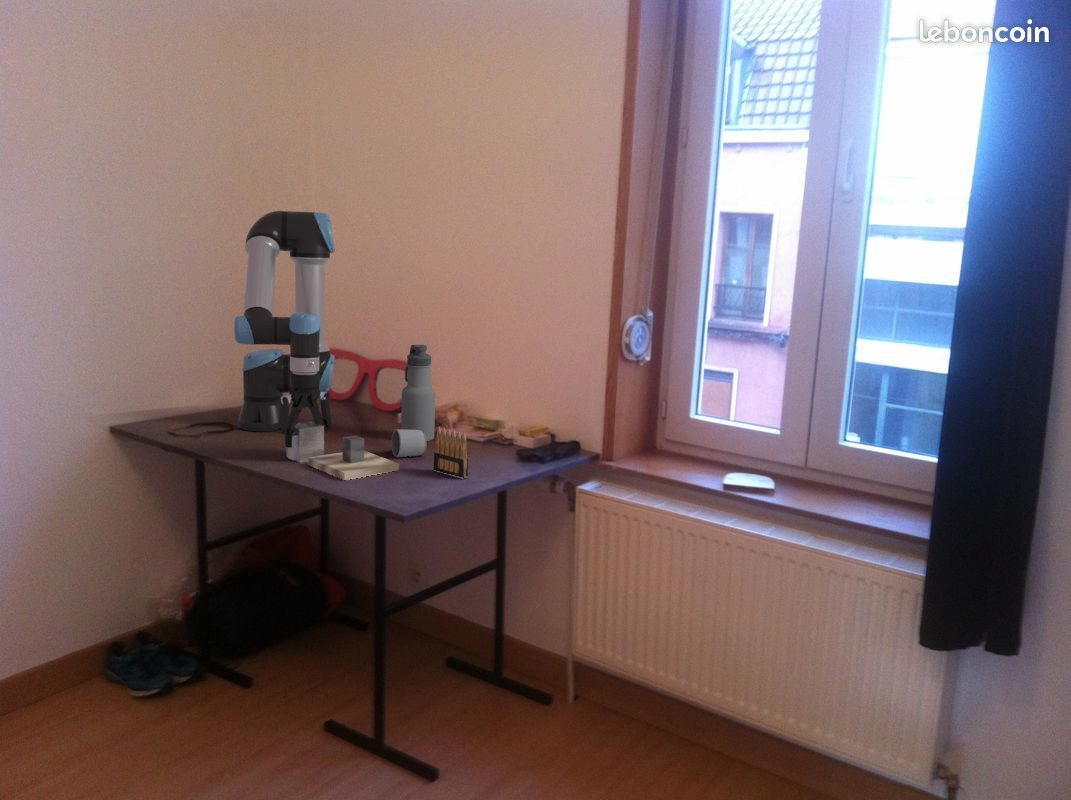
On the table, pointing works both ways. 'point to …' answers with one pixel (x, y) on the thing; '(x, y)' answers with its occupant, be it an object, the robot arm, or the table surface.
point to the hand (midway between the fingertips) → (305, 456)
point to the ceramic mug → (408, 443)
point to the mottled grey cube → (308, 440)
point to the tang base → (352, 468)
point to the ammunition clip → (451, 453)
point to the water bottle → (418, 393)
